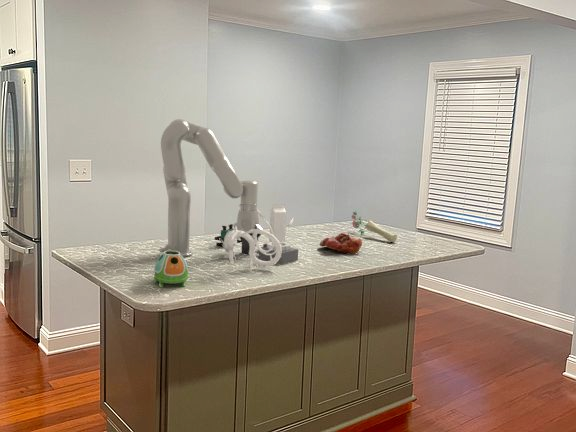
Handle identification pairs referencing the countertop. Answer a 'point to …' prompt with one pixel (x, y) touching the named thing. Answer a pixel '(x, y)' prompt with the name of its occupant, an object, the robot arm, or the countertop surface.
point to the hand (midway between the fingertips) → (247, 244)
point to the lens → (245, 245)
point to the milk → (278, 222)
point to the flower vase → (373, 228)
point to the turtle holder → (171, 268)
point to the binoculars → (223, 234)
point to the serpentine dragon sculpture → (252, 242)
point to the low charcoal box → (287, 253)
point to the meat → (342, 243)
